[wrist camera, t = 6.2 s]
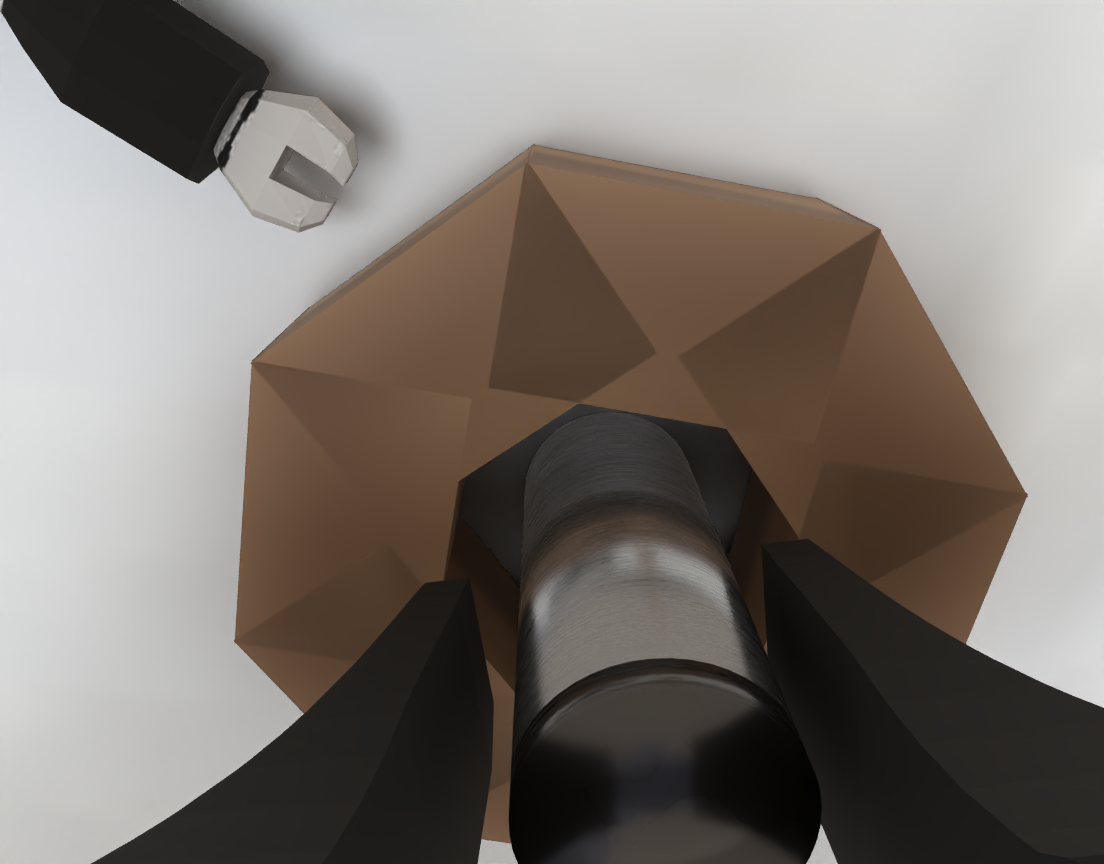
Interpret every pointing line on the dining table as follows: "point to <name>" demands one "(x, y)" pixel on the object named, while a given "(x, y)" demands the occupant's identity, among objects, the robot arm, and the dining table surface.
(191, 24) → the robot toy
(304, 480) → the walnut bead
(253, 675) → the dining table surface
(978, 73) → the dining table surface
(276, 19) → the dining table surface
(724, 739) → the metal cylinder
